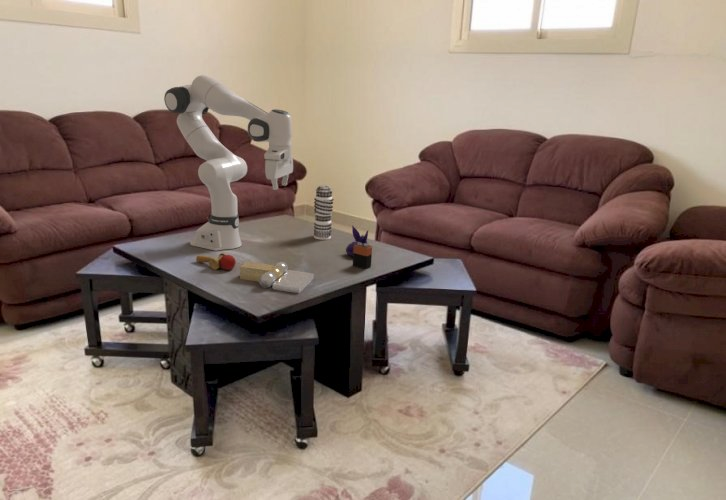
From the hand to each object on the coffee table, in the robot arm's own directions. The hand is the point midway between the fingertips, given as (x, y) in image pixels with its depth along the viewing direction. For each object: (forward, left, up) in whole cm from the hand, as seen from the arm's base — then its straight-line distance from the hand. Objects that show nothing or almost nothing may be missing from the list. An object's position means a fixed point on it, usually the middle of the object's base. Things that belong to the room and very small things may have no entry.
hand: (280, 187), depth 209 cm
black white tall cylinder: (+6, +40, -31) cm, 51 cm away
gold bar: (+2, -22, -31) cm, 38 cm away
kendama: (-20, -16, -32) cm, 41 cm away
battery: (+34, +7, -31) cm, 47 cm away
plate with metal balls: (+12, -22, -31) cm, 40 cm away
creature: (+29, +22, -32) cm, 48 cm away
